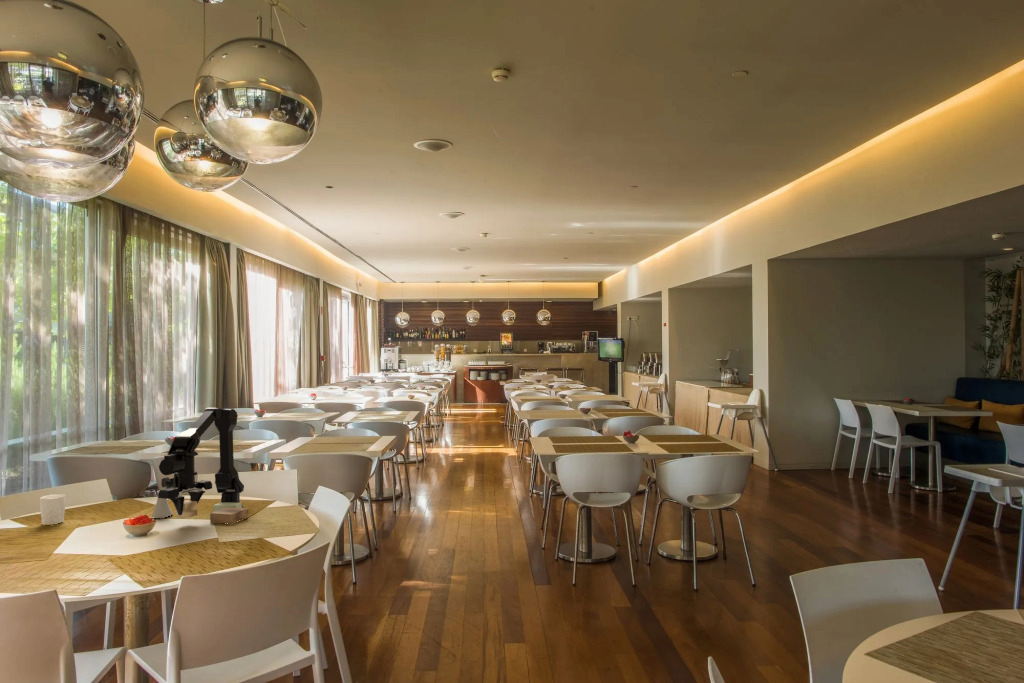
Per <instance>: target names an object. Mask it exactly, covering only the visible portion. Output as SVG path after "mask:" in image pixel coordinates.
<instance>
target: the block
mask: <svg viewBox="0 0 1024 683" xmlns="http://www.w3.org/2000/svg"><path fill="white" fill-rule="evenodd" d="M242 503H243V502H240V503H228V502H221V501H220V502H218V503H216V504H213V512H215V511H218V510H221V509H224V508H227V507H230V508H243V506H242V505H243V504H242Z"/></svg>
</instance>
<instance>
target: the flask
mask: <svg viewBox="0 0 1024 683" xmlns="http://www.w3.org/2000/svg"><path fill="white" fill-rule="evenodd" d="M160 490H161V489H159V490H156V493H157V494H158V493H159V491H160ZM171 515H172V516H173V515H174V513H173V511H172V509H171V507H170V505H169V502H168V499H164V498H158V497H157V499H156V503H155V506H154V509H153V511H152V514H151V516H152V517H155V518H160V519H166V518H165V517H167V518H169V517H168V516H170V517H172V516H171Z"/></svg>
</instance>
